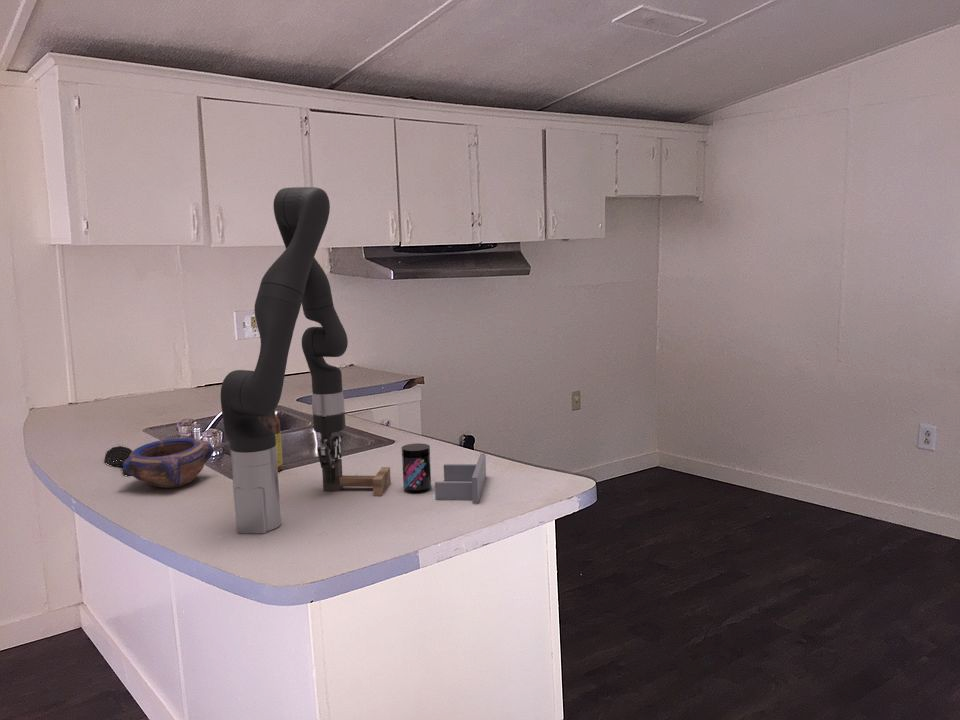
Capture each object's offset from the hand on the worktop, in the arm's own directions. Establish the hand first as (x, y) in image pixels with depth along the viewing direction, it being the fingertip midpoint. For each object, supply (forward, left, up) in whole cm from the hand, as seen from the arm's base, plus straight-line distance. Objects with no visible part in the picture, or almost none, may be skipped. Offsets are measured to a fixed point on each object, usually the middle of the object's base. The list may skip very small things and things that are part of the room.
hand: (332, 480), depth 194 cm
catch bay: (0, -31, -2) cm, 31 cm away
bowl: (+4, +43, -2) cm, 43 cm away
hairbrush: (+20, +64, -3) cm, 67 cm away
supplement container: (0, -21, -2) cm, 21 cm away
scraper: (0, -6, -2) cm, 6 cm away
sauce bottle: (+15, +21, -2) cm, 26 cm away
